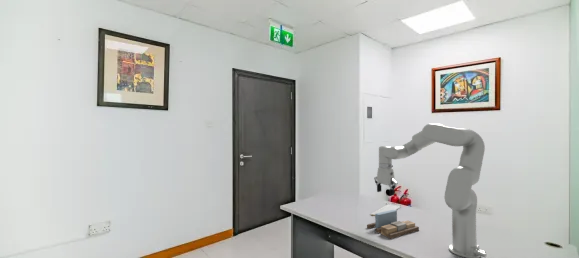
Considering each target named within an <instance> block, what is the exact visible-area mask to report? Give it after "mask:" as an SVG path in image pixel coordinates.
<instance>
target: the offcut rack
mask: <svg viewBox="0 0 579 258" xmlns="http://www.w3.org/2000/svg"><path fill="white" fill-rule="evenodd" d="M403 221H404V220H403ZM403 221H401V222H403ZM366 228H367V229H369V230H370V229H373V228H375V233H377V234H381V227H380V228H376V224H375V222H371V223H368V224H366ZM419 230H420V227H419V226H417V225H415V227H412V228H408V229H405V230H401V231H398V232H394V233H391V234H388V237H387V238H388V239H390V240H391V239H395V238H399V237H400V236H405V235H408V234H411V233H414V232H417V231H418V232H419Z"/></svg>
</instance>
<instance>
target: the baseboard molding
mask: <svg viewBox="0 0 579 258" xmlns="http://www.w3.org/2000/svg"><path fill="white" fill-rule="evenodd" d="M401 207H402V206H401V205H400V204H399V205H397V204H396V203H395V202H394V203H392V204H391V203H390V204H389V203H388V202H386V203H385V205H384V206H382V207H380V208H378V209H377V210H375V211H374V212H371V213H370V214H369V215H370V216H372V215H373V217H375V214H376V213H381V212H385V211H390V210H396V211H398V210H399V209H400V208H401Z"/></svg>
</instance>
